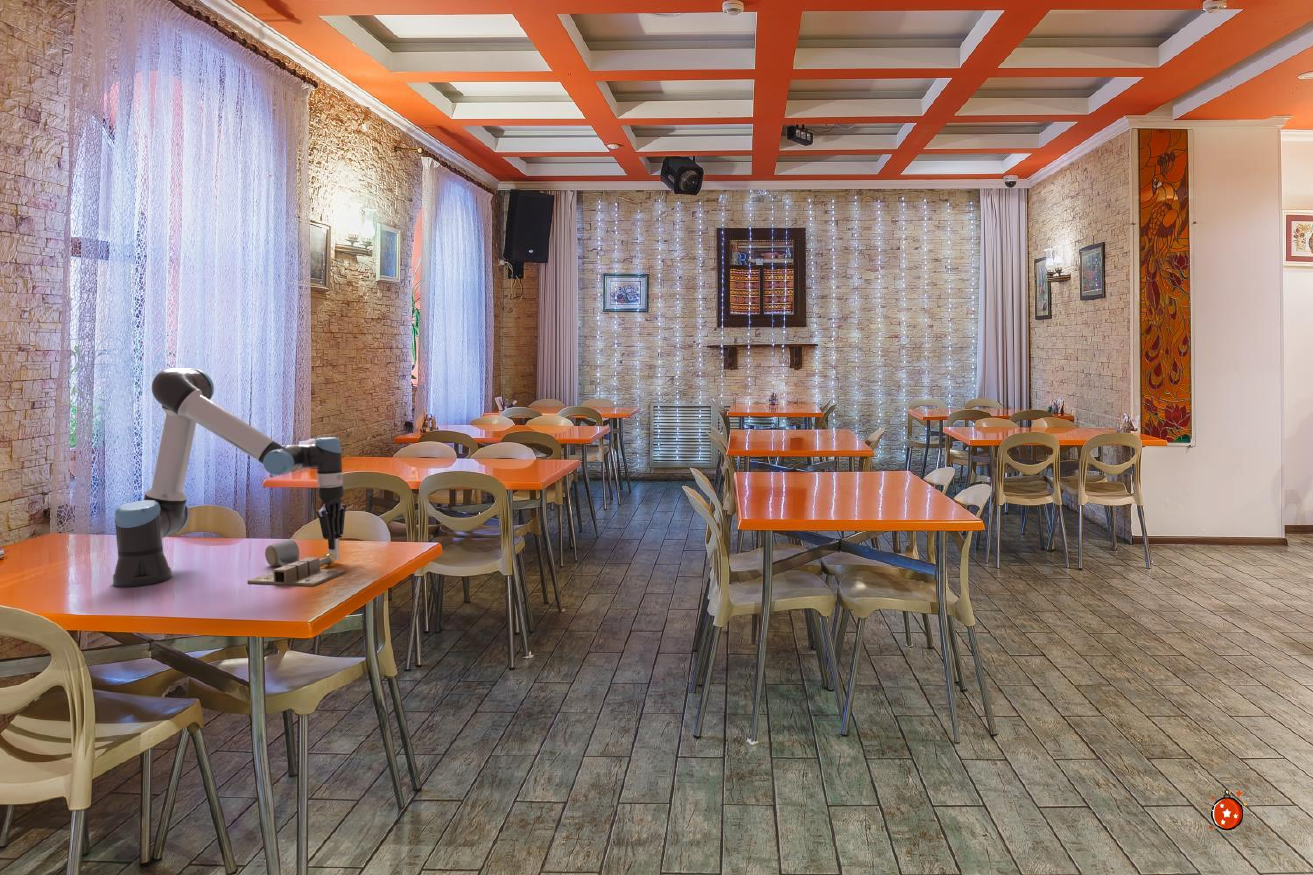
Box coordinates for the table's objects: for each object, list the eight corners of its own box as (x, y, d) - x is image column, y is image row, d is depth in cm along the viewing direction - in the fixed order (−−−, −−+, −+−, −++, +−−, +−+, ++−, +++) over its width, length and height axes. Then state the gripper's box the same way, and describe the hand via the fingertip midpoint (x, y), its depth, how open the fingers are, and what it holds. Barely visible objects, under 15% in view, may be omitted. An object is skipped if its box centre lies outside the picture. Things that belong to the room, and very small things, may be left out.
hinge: (313, 586, 245) (312, 571, 245) (247, 583, 250) (246, 568, 250) (345, 572, 261) (345, 558, 260) (283, 570, 266) (282, 556, 265)
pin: (300, 578, 254) (299, 567, 254) (290, 577, 255) (289, 566, 255) (335, 564, 271) (334, 554, 270) (325, 564, 272) (325, 553, 271)
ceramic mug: (264, 565, 273) (262, 542, 272) (288, 560, 279) (287, 537, 278) (281, 570, 266) (280, 546, 265) (306, 565, 273) (304, 541, 272)
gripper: (328, 489, 264) (332, 563, 266) (352, 483, 277) (356, 554, 279) (307, 488, 266) (311, 563, 268) (332, 482, 279) (336, 553, 281)
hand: (334, 558), depth 274 cm, fingers closed
